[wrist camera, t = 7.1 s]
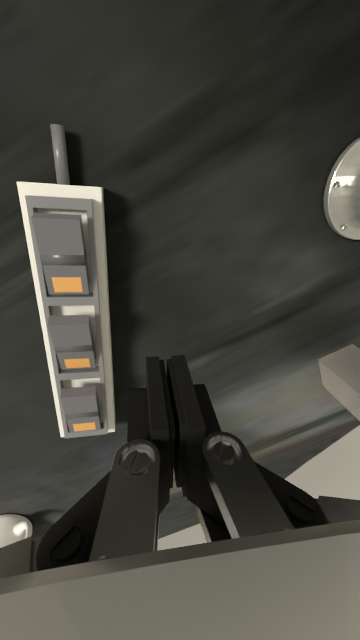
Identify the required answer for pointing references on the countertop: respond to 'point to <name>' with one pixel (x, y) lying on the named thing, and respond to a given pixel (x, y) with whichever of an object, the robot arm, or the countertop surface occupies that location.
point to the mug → (14, 529)
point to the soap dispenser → (343, 377)
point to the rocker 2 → (73, 341)
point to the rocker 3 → (81, 408)
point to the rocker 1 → (62, 252)
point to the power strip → (94, 304)
